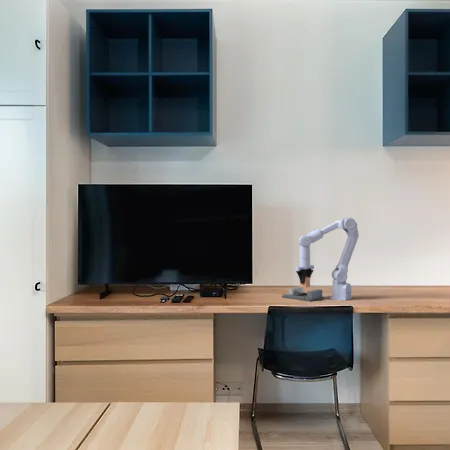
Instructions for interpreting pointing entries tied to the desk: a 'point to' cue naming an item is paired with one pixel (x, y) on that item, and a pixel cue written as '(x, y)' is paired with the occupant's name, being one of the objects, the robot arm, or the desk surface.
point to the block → (306, 282)
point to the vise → (306, 296)
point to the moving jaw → (296, 291)
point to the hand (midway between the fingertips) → (304, 283)
